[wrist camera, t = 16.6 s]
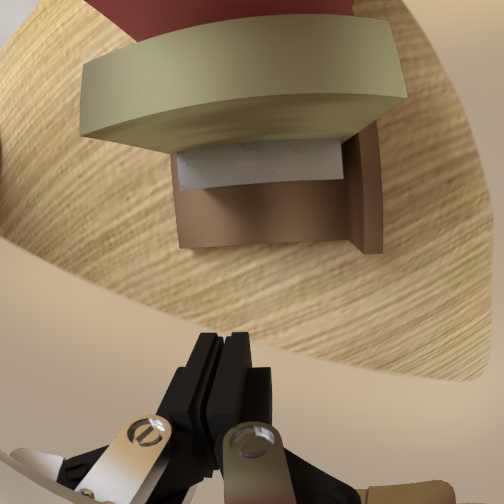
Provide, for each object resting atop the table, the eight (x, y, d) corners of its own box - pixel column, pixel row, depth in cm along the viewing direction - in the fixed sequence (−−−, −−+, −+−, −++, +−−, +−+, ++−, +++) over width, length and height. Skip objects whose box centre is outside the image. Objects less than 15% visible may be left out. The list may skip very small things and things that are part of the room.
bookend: (201, 189, 18) (179, 190, 14) (199, 158, 17) (176, 152, 13) (330, 180, 16) (343, 178, 13) (327, 148, 16) (339, 137, 12)
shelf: (185, 244, 20) (56, 331, 7) (175, -9, 15) (104, -101, 2) (357, 235, 18) (469, 324, 6) (319, -25, 13) (331, -137, 1)
